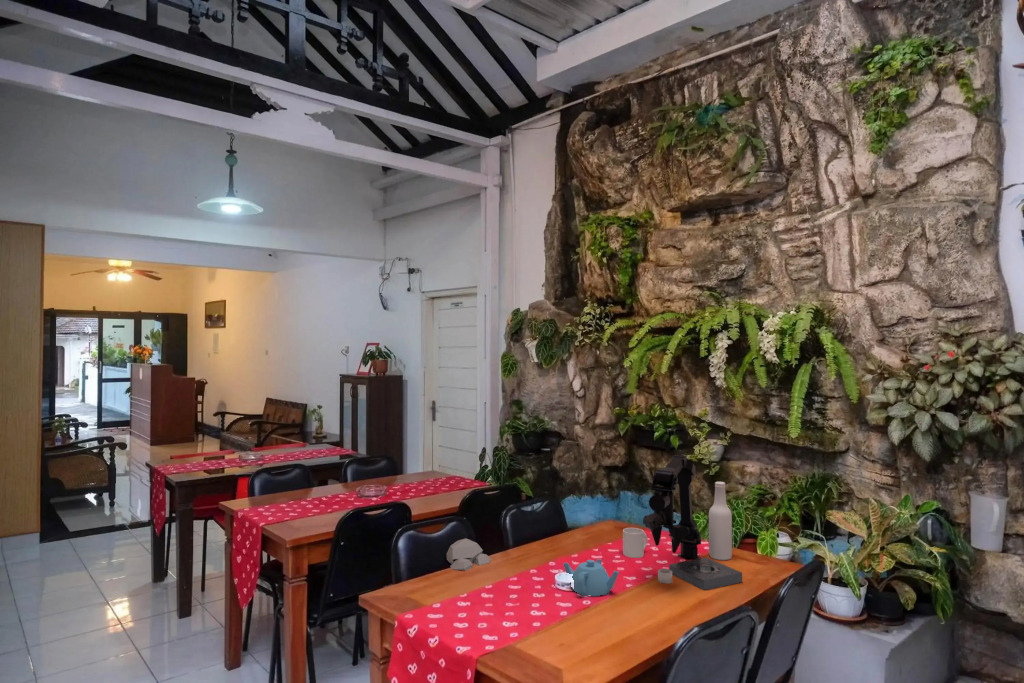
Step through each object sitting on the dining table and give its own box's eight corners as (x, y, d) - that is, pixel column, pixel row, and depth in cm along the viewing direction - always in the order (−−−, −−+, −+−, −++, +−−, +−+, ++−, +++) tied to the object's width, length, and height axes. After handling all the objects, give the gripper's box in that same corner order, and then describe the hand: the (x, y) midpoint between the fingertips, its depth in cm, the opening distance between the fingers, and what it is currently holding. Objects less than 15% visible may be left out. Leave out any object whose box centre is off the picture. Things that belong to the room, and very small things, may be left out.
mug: (639, 550, 259) (639, 525, 259) (654, 555, 252) (654, 529, 253) (618, 555, 253) (618, 529, 253) (633, 561, 246) (633, 534, 246)
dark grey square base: (669, 573, 232) (669, 564, 232) (706, 566, 240) (706, 557, 240) (703, 590, 216) (703, 580, 216) (742, 582, 223) (742, 572, 223)
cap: (655, 581, 224) (655, 569, 224) (666, 579, 227) (666, 567, 227) (664, 585, 220) (664, 574, 220) (675, 583, 222) (675, 572, 222)
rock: (497, 564, 242) (498, 539, 242) (467, 580, 225) (467, 553, 225) (460, 555, 252) (460, 532, 252) (428, 570, 235) (428, 545, 235)
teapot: (561, 586, 219) (561, 555, 220) (600, 581, 224) (600, 551, 224) (579, 603, 205) (579, 570, 205) (620, 597, 209) (620, 565, 210)
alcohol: (708, 559, 248) (708, 483, 248) (708, 552, 256) (708, 479, 257) (732, 561, 245) (732, 485, 246) (731, 554, 254) (731, 480, 254)
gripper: (631, 502, 228) (631, 544, 228) (664, 514, 212) (664, 560, 211) (655, 499, 233) (655, 540, 233) (690, 510, 217) (690, 555, 216)
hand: (665, 549), depth 223 cm, fingers open, 9 cm apart
